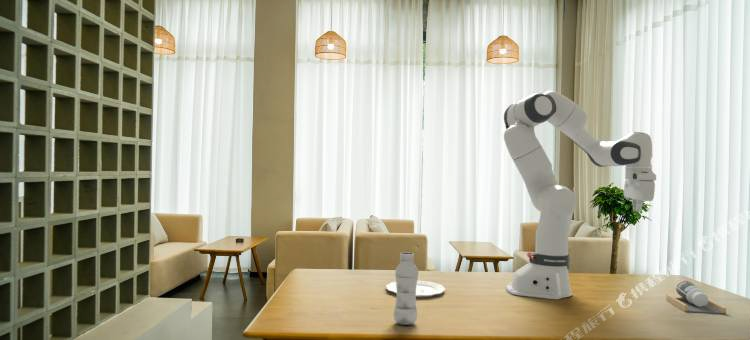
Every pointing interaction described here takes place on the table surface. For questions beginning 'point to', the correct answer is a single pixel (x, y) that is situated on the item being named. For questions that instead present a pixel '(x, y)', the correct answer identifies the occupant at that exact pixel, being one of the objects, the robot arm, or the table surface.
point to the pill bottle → (691, 293)
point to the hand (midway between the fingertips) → (637, 211)
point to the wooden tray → (688, 307)
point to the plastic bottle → (406, 290)
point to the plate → (426, 286)
